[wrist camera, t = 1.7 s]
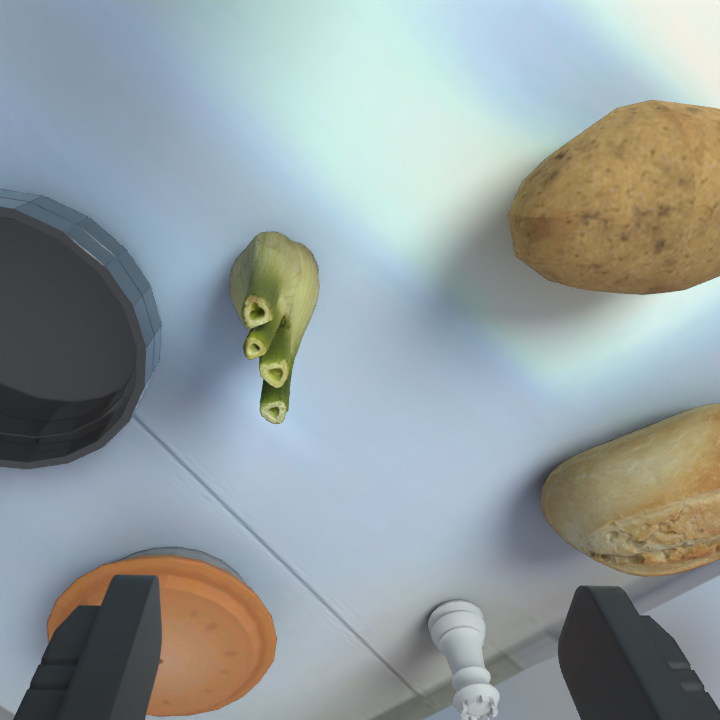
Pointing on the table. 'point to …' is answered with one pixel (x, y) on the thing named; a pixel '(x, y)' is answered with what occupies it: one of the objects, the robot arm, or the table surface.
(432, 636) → the rook chess piece
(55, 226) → the pan
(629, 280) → the potato
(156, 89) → the table surface
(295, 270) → the fennel bulb
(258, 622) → the pie
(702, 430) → the bread roll
